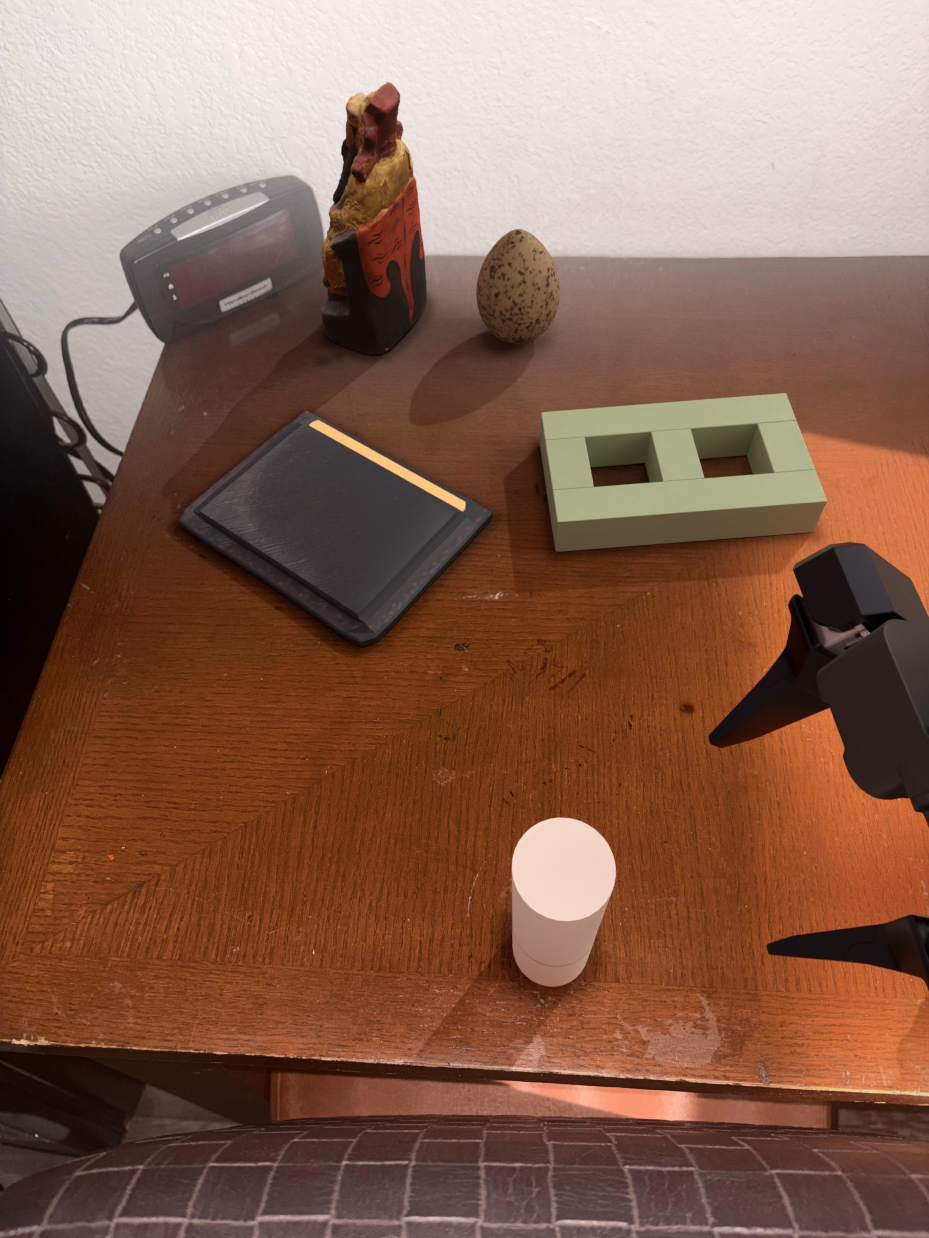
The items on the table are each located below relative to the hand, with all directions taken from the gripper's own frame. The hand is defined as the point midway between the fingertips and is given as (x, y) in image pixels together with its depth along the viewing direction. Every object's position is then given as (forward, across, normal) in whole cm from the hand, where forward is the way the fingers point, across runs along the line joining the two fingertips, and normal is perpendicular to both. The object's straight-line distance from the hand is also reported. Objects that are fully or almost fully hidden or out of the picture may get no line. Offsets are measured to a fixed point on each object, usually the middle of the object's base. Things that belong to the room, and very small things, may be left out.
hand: (740, 839), depth 37 cm
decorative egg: (+12, -51, +7) cm, 53 cm away
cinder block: (+5, -32, +14) cm, 35 cm away
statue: (+21, -54, -2) cm, 58 cm away
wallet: (+24, -32, -5) cm, 40 cm away
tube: (+15, +1, +4) cm, 16 cm away
